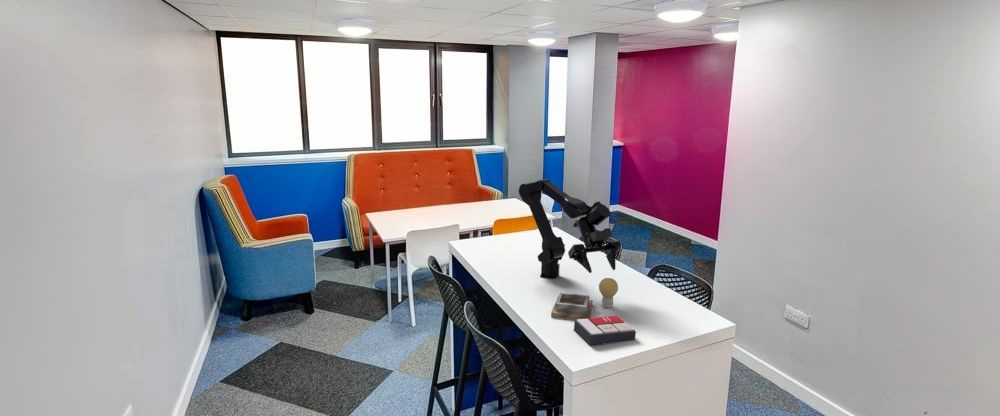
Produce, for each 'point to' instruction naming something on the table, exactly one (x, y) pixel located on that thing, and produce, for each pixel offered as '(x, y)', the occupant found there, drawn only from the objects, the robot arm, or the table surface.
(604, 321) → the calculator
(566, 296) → the square frame
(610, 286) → the light bulb
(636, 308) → the table surface
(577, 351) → the table surface
